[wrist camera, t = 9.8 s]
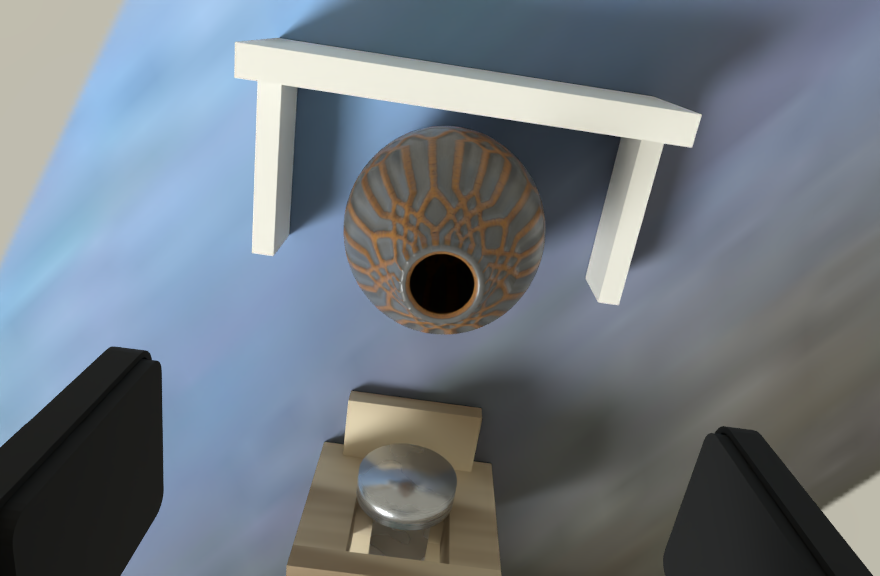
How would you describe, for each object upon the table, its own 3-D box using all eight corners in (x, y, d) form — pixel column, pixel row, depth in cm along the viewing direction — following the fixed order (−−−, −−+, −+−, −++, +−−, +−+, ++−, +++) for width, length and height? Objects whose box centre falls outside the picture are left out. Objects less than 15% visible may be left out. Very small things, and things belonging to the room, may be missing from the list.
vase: (524, 101, 24) (559, 142, 16) (539, 271, 27) (576, 380, 18) (344, 127, 24) (289, 179, 16) (376, 291, 27) (343, 406, 19)
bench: (458, 613, 34) (460, 761, 27) (310, 595, 34) (274, 740, 27) (502, 411, 29) (518, 529, 22) (329, 387, 29) (291, 500, 22)
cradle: (604, 280, 27) (635, 334, 22) (269, 232, 26) (230, 277, 21) (653, 96, 24) (701, 114, 19) (278, 37, 23) (235, 41, 19)
